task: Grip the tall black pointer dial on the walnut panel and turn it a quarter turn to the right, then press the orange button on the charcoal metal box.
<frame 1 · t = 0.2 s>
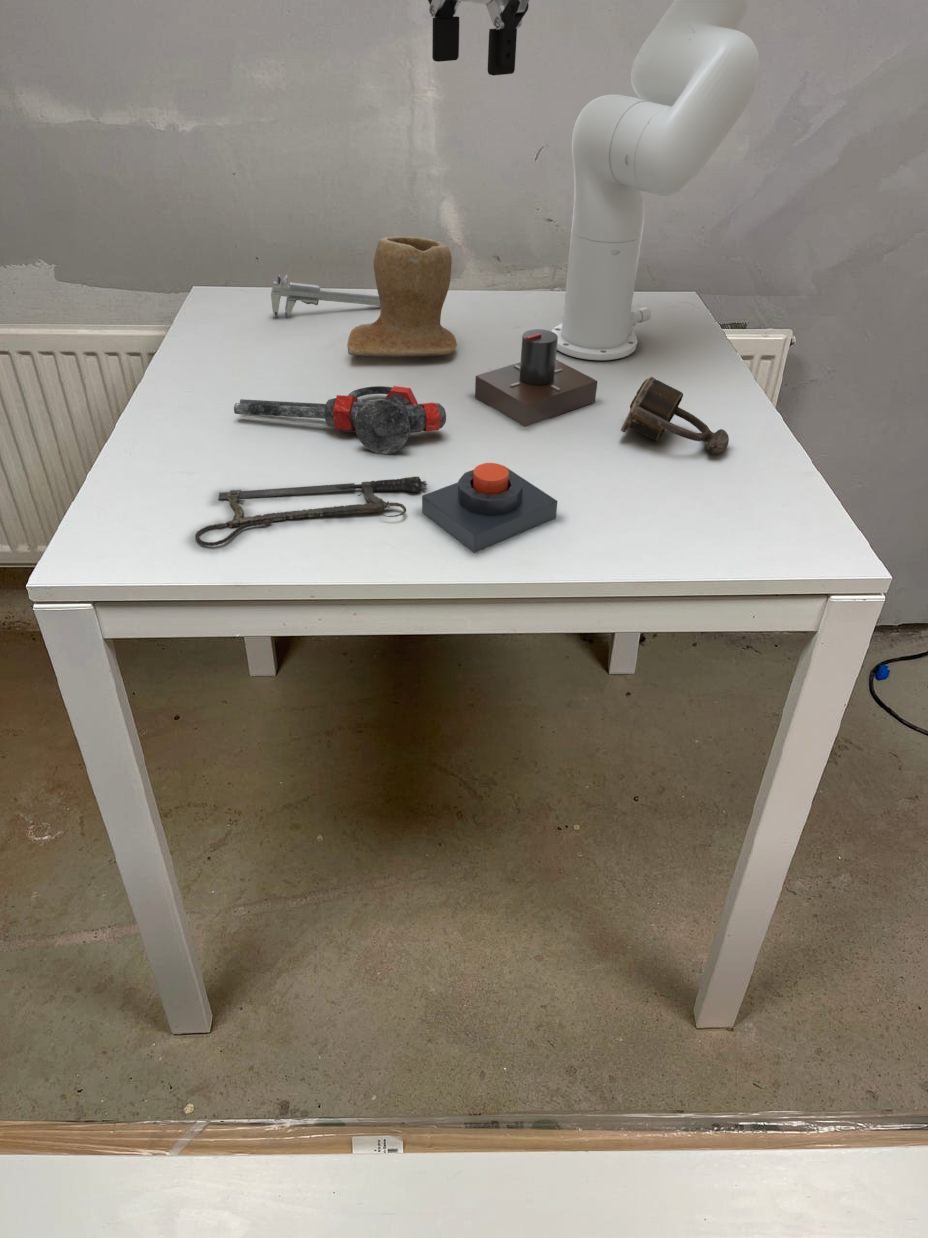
hand: (472, 66, 96), 36 cm above the table, tool pointing down, fingers open, 9 cm apart
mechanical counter: (669, 444, 108), on the table
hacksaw: (316, 516, 94), on the table
dial panel: (534, 399, 116), on the table
stone cup: (402, 349, 128), on the table
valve: (346, 421, 111), on the table
button box: (488, 515, 95), on the table
button: (490, 478, 92), point 4 cm above the table, slide at 0.1 cm
caliper: (340, 312, 138), on the table
dial: (538, 355, 112), point 6 cm above the table, hinge at 0.0°
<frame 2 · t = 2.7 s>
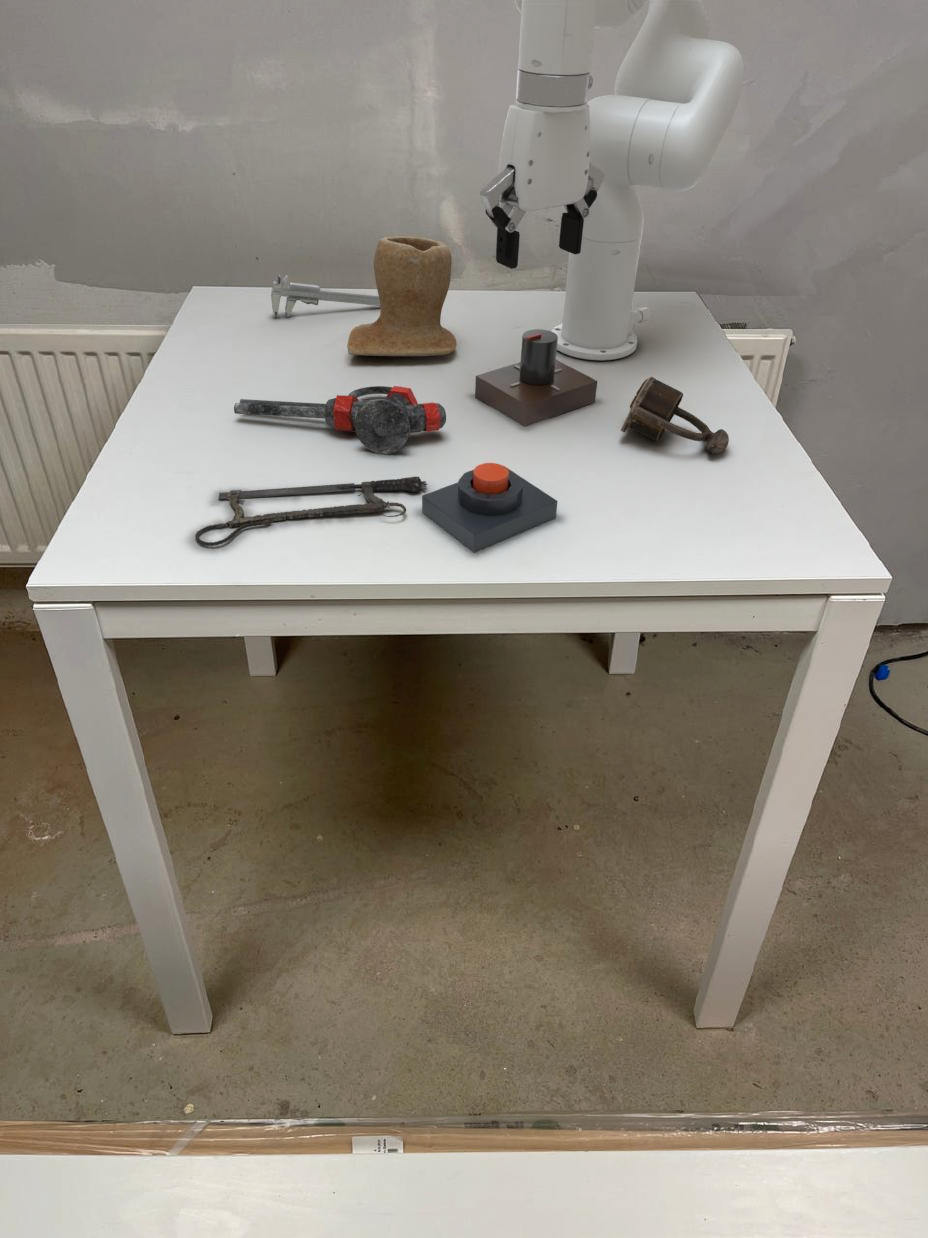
hand: (538, 257, 105), 18 cm above the table, tool pointing down, fingers open, 9 cm apart
nothing on the table moved.
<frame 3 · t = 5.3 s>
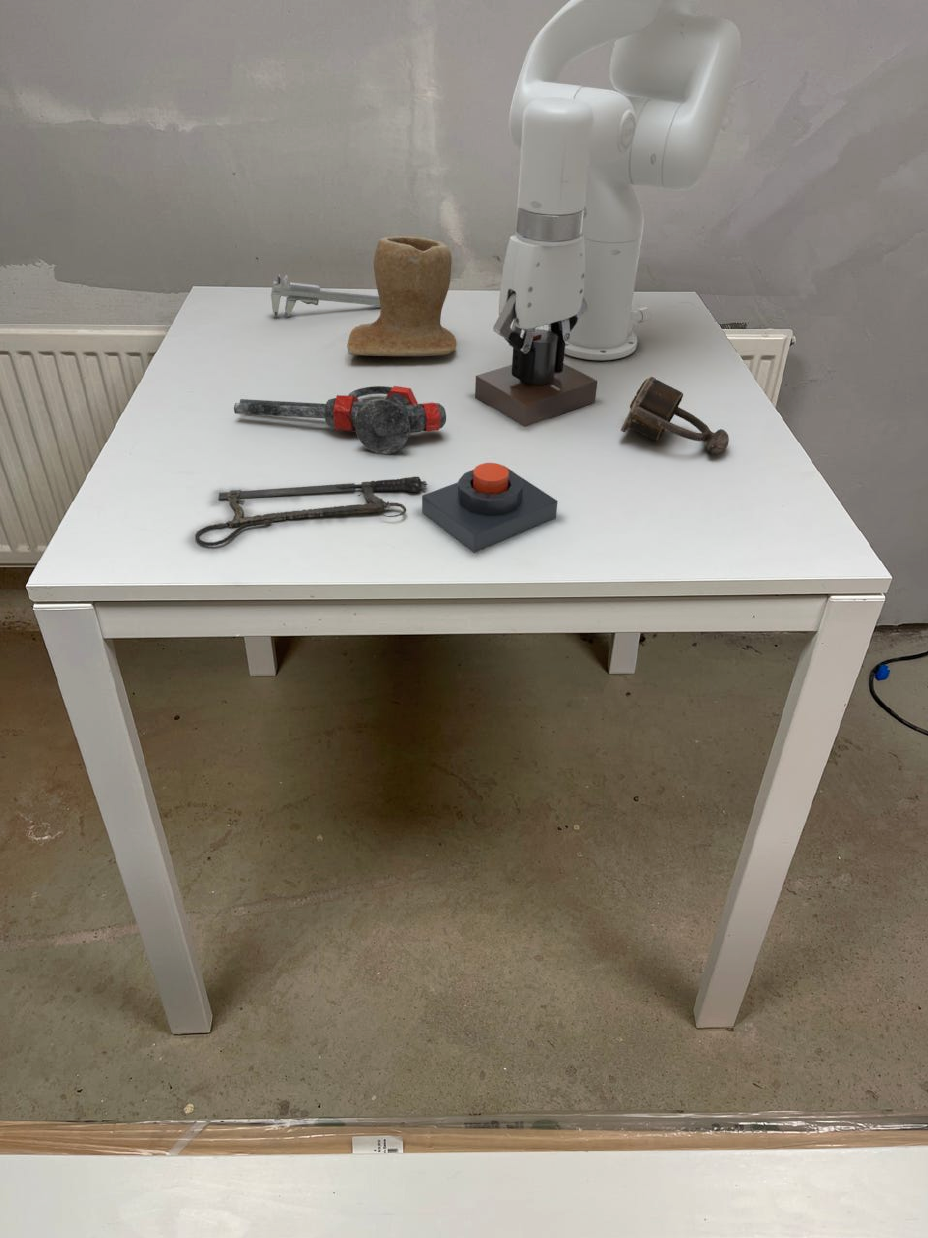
hand: (537, 372, 114), 4 cm above the table, tool pointing down, fingers closed on dial, 4 cm apart
dial: (538, 355, 112), point 6 cm above the table, hinge at -0.2°, touching gripper
everything else where it was.
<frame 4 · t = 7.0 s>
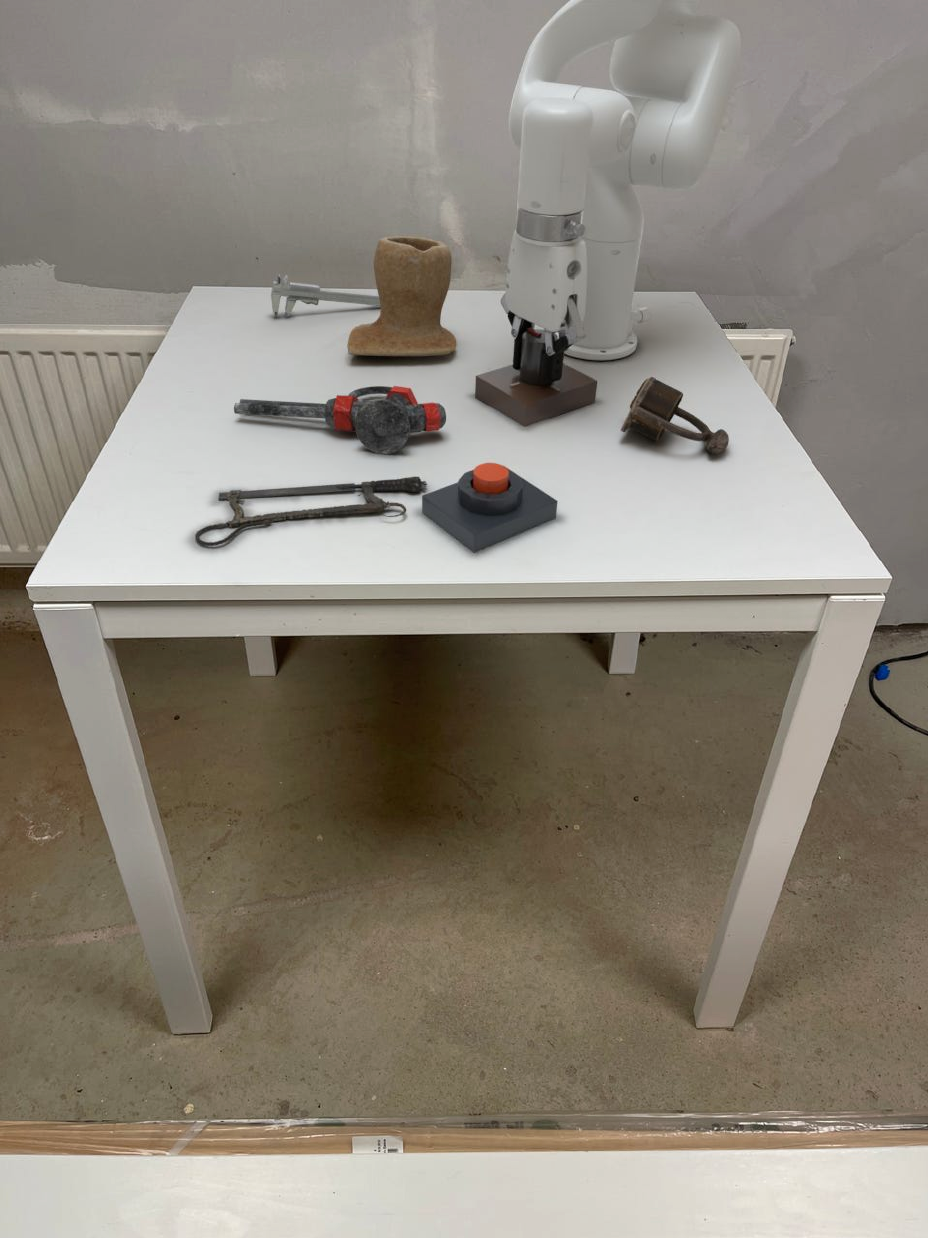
hand: (536, 372, 114), 4 cm above the table, tool pointing down, fingers closed on dial, 4 cm apart
dial: (538, 355, 112), point 6 cm above the table, hinge at -90.2°, touching gripper
everything else where it was.
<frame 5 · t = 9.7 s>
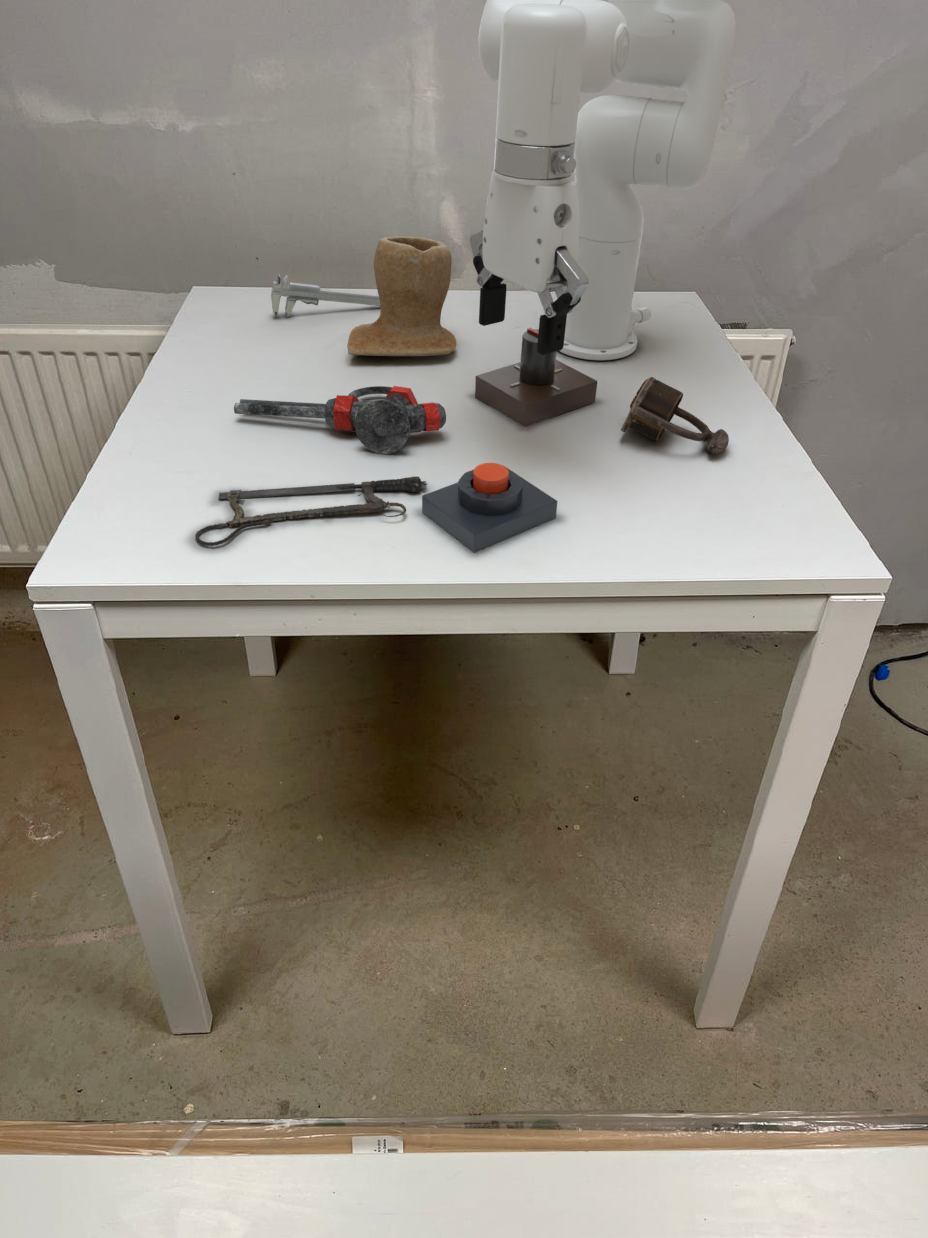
hand: (519, 336, 96), 14 cm above the table, tool pointing down, fingers open, 9 cm apart
dial: (538, 355, 112), point 6 cm above the table, hinge at -89.3°
everything else where it was.
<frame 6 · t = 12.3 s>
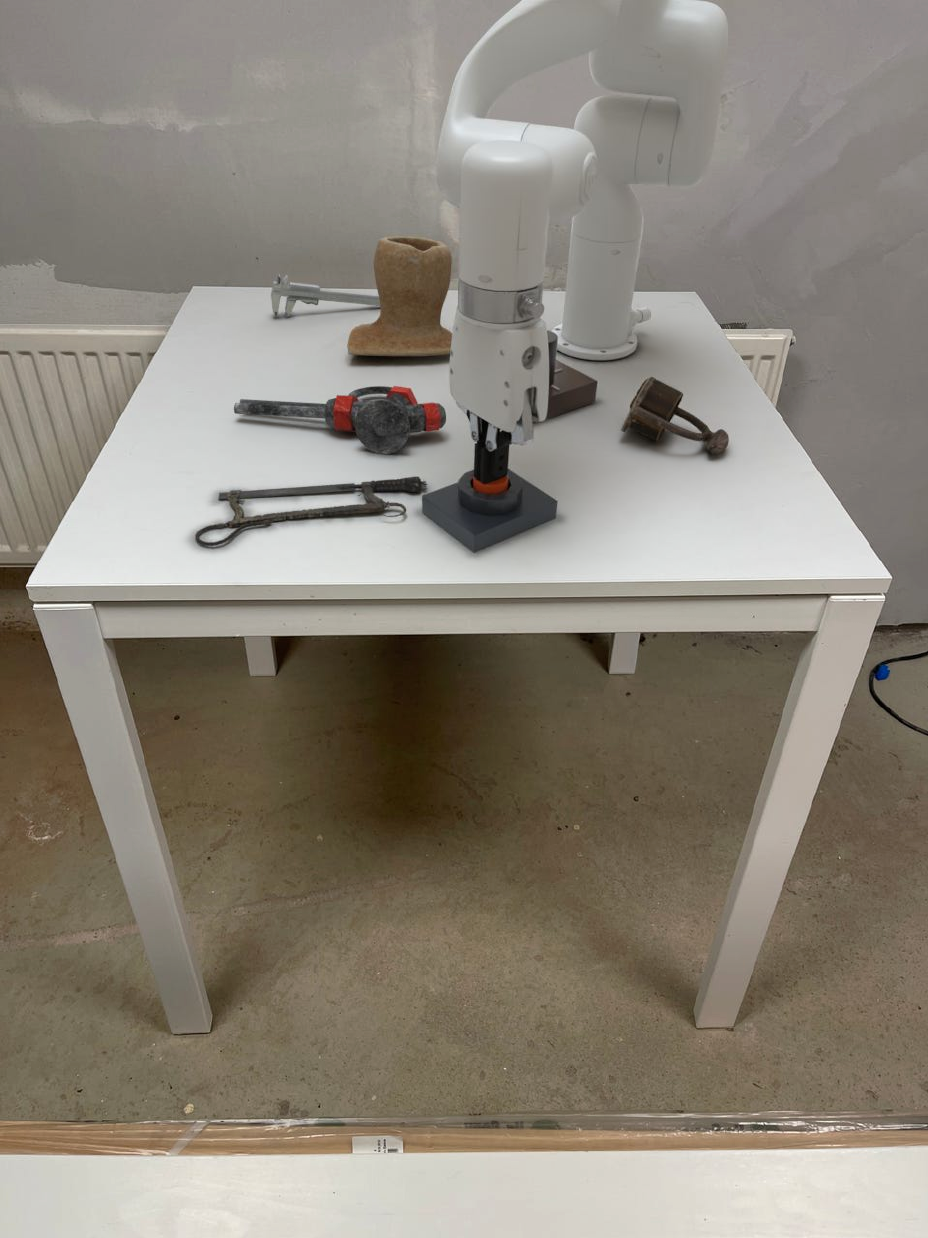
hand: (490, 477, 92), 5 cm above the table, tool pointing down, fingers closed
button: (490, 483, 92), point 4 cm above the table, slide at -0.5 cm, touching gripper
everything else where it was.
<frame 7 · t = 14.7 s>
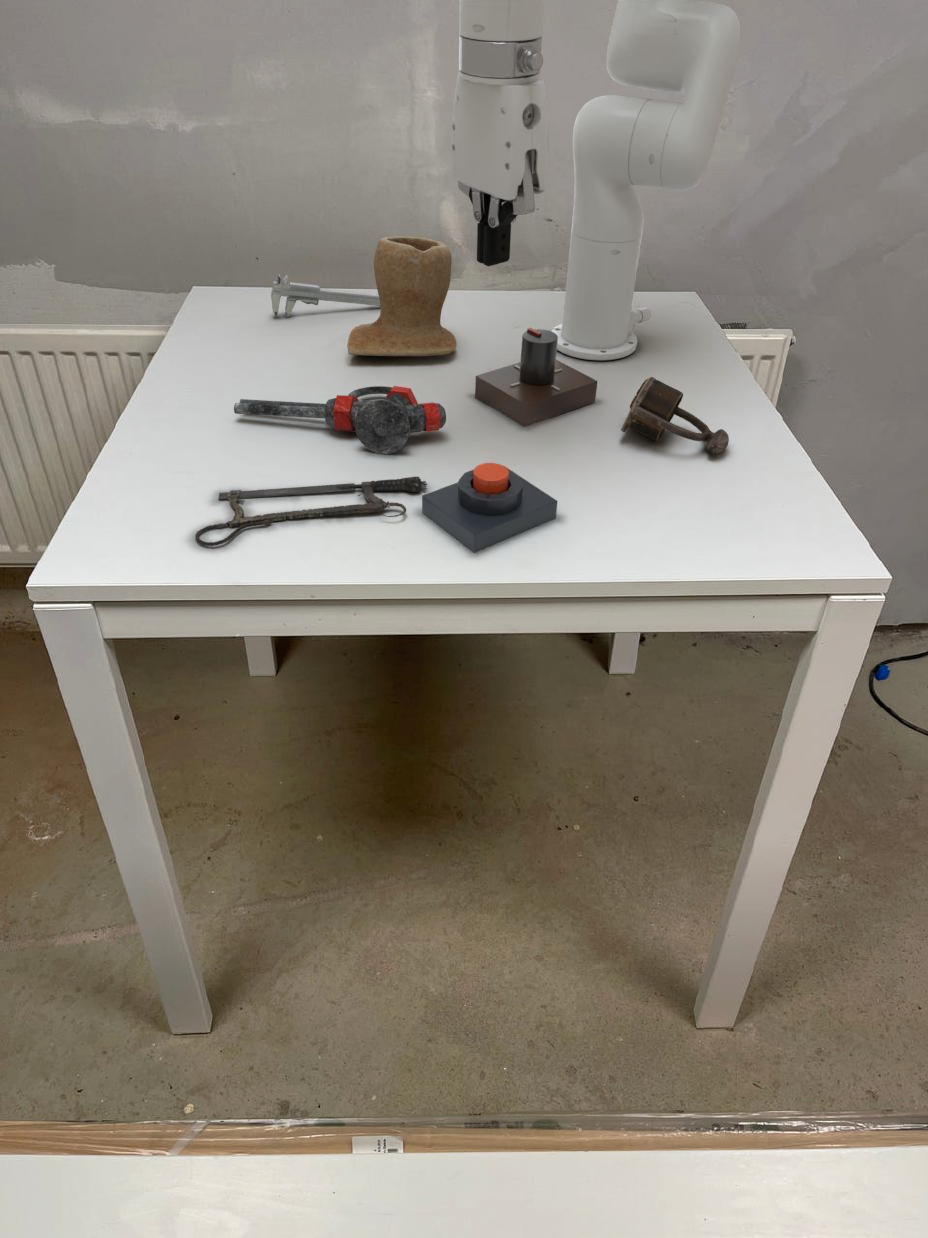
hand: (493, 261, 94), 21 cm above the table, tool pointing down, fingers closed
button: (490, 478, 92), point 4 cm above the table, slide at 0.1 cm
everything else where it was.
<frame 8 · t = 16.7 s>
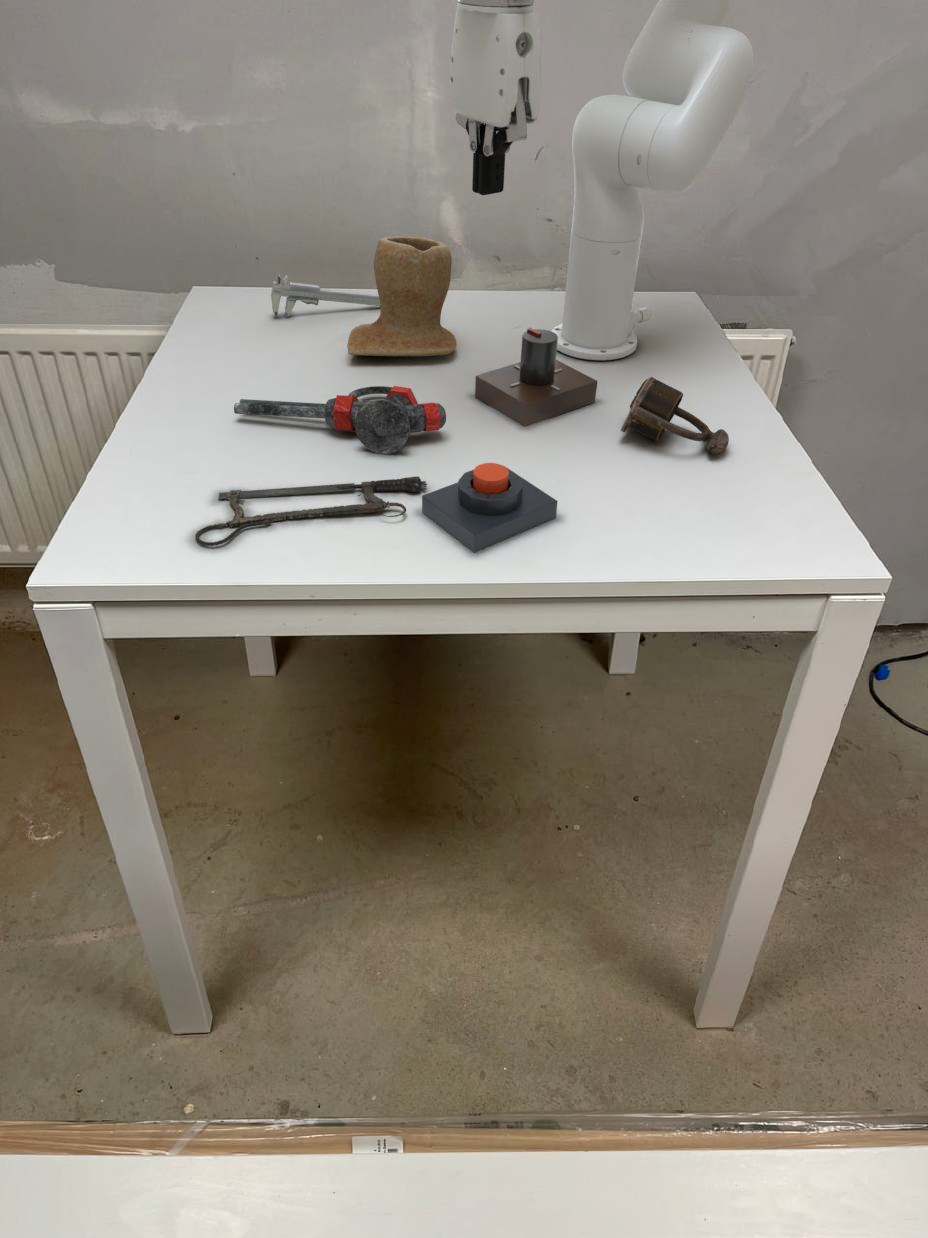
hand: (487, 191, 100), 25 cm above the table, tool pointing down, fingers closed
nothing on the table moved.
at the end: dial at -89° (first picture: +0°); button pushed in 1.1 cm at the most during the clip, back to where it started at the end; button slide at 0.1 cm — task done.
